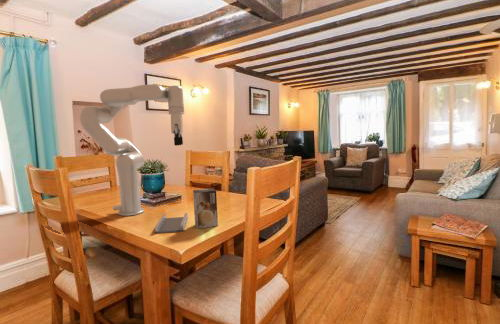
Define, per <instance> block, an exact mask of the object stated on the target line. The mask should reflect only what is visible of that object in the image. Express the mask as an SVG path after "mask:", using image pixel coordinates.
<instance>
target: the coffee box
mask: <svg viewBox="0 0 500 324" xmlns="http://www.w3.org/2000/svg"><path fill="white" fill-rule="evenodd" d="M192 196H193V210H194V211H193V213H194V225H195V227H196V228H197V230H199V229H206V228H212V227H218V226H219V221H218V220H219V219H218V203H217V202H218V201H217V200H218V199H217V190H216V189H215V188H212V187H211V188H202V189H201V188H200V189H193V190H192Z"/></svg>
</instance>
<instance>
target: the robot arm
mask: <svg viewBox="0 0 500 324" xmlns="http://www.w3.org/2000/svg"><path fill="white" fill-rule="evenodd" d="M183 91H184V90H183V87H182V86H180V85H169V86H167V87H164V86H161V85H158V84H153V83H152V84H139V85H136V86H131V87H122V88H107V89H104V90H102V91H101V92H100V94H99V99H100V102H101V103H102V104H103V105H102V106H97V105H88V106H85V107H84V108H83V109H81V112H80V115H79V120H80V121H79V123H80V125H81V127H82V129H83V130H84V131H85V132H86V134H88V135H89V136H90V137H91V138H92V139H93V140H94V142H96V144H98V146H100V148H101V149H102V150H104V152H105V153H106V154H107V155H109V156H112V157H113V156H114V157H115V156H118V157H117V158H116V160H115V166H116V170H117V174H118V175H117V176H118V183H119V197H120V204H119V205H113V206H112V209H113V210H114V211H118V212H117V214H118V215H119V216H123V217H129V216H135V215H140V214H142V213H144V212H145V208H143V207H142V205H141V203H142V202H141V189H140V178H139V173H138V170H137V169H141V168H142V167H143V166H144V164H145V157H144V155H143V154H142V153H141V151H139V149H138V148H136V147H135V145H133V143H132V142H131V141H130V140H128V139H127V138H125V137H119V136H116V135H114V134H113V133H112V132H111V131H110V130H109V129H108V128H107V127H106V126H105V125H104V124H107V123H110V122H111V121H112V120H114V118H115V117H116V116H117V115H118V114H119V113H120V111H122V109H123V108H124V107H125V106H132V105H133V106H134V105H136V104H137V103H139V102H146V101H148V102H149V101H156V102H159V103H167V106H168V107H167V108H168V115H170V131H171V134H173V143H174V144H173V145H174V146H176V147H177V146H182V145H184V141H183V140H184V139H183V131H184V130H183V129H184V128H183V125H184V124H183V115H185V108H184V107H185V106H184V95H183V94H184V93H183Z"/></svg>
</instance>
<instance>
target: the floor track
mask: <svg viewBox="0 0 500 324" xmlns="http://www.w3.org/2000/svg"><path fill="white" fill-rule="evenodd" d="M188 218H189V217H188V213H187V212H186V213H185V212H184V214H183V216H180V217H177V216H176V217H167V216H166V214H163V215H162V216H161V217H160V219H159V220H158V222H157V223H156V225H155V226H154V231H155V233H154V234H163V233H164V234H165V233H167V234H168V233H179V232H184V231H185V228H186V225H187V223H188Z"/></svg>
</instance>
